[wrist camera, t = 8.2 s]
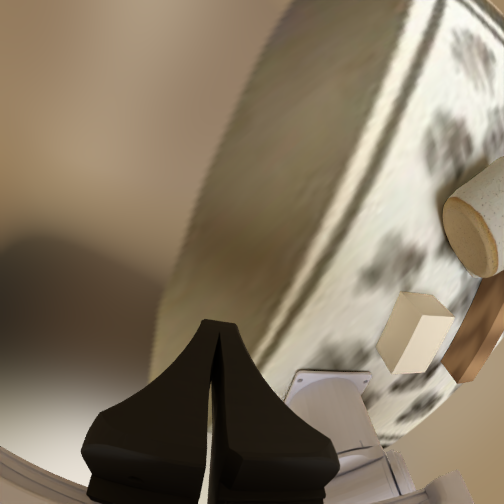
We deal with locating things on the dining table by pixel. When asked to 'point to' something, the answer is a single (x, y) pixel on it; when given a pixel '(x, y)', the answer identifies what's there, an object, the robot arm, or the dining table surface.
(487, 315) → the walnut rail
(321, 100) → the dining table surface
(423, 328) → the beige rectangular block
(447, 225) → the ceramic mug
